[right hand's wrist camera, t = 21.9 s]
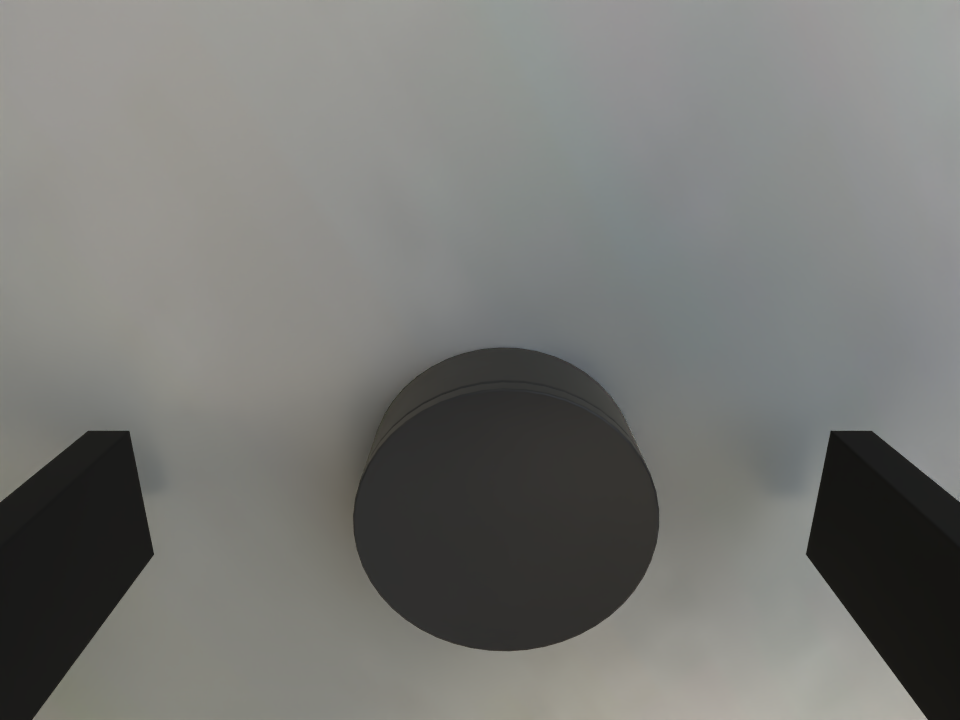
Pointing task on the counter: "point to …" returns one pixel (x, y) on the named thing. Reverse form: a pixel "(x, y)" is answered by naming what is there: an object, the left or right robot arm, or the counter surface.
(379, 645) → the counter surface
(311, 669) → the counter surface
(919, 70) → the counter surface
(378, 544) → the lid
